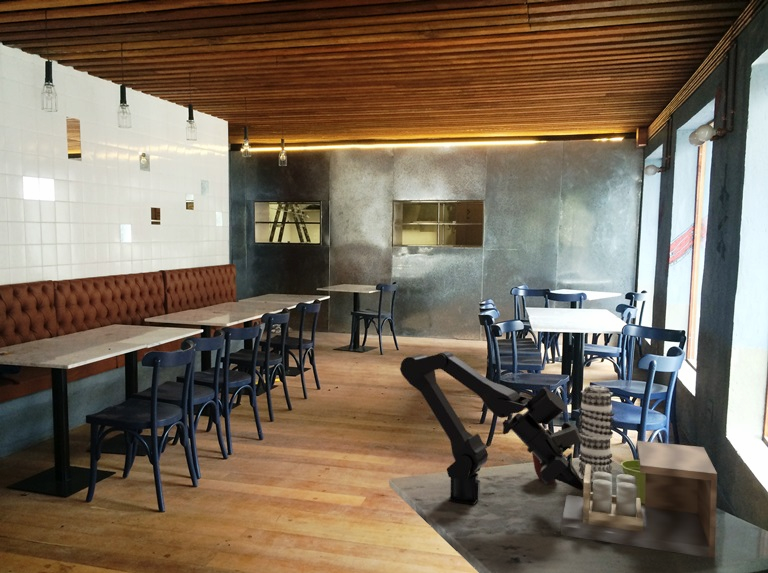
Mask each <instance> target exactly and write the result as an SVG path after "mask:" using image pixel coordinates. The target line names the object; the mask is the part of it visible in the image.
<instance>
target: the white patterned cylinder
mask: <svg viewBox="0 0 768 573" xmlns="http://www.w3.org/2000/svg"><path fill="white" fill-rule="evenodd" d="M580 393H582V394H581V397H582V398H581V404H580V406H579V409H578V413H579V414H580V416H579V417H578V419H579V422H578V426H580V428H579V429H578V431H579V434H580V436H581V442H580V449H579V452H578V453H579V457H578V460H579V463H578V467H579V468H578V473H579V474H578V476H579V477H580V479H581V480H582V479H583V481H584V475H585V467H586V464H588V465H591V483H592V482H593V473H594V472H607V473H610V474H611V475H612V474H613V472H612V470H613V469H612V468H613V466H612V465H611V464H612V463H613V460H612V459H611V458H613V453H612V447H611V439H613V435H614V432H613V431H612V430H613V429H614V426H613V425H612V424H611V423H613V422H614V421H615V420H614V418H613V416H615V413H614V412H613V411H612V409H613V404H612V395H613V394H614V393H613V392H611V391H610V389H609V388H608V387H606V386H604V385H597V384H596V385H595V384H593V385H592V384H591V385H587V386H585V387H584V389H583V390H581V391H580ZM612 476H613V475H612Z"/></svg>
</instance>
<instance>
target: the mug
mask: <svg viewBox="0 0 768 573" xmlns="http://www.w3.org/2000/svg"><path fill="white" fill-rule="evenodd" d="M562 454H563V455H564V452H563V453H562ZM531 455H532V460H533V466H534V471H535V473H536V474H535V475H537V478H538V479H539V481H541V483H544V482H543V480H542V479H541V478H540V471H541V468H542V466H541V465H540V462H541V461H540V460H539V459H538V458H537V457H536V456H535V454H534V453H533V452H531ZM556 481H557V480H556V479H553V480H552V481H550V482H549V483H554V482H556ZM549 483H548V484H549Z"/></svg>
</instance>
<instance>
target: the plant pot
mask: <svg viewBox="0 0 768 573" xmlns="http://www.w3.org/2000/svg"><path fill="white" fill-rule="evenodd" d="M620 467H621V468H622V471H623V474H626V475H631V476H634V477H635V478H636V486H637V496H636V498H640V502H641V505H645V473H641V472H640V466H639V459H628V460H624V461H621V463H620Z"/></svg>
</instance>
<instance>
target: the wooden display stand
mask: <svg viewBox="0 0 768 573" xmlns="http://www.w3.org/2000/svg"><path fill="white" fill-rule="evenodd" d="M636 450H637V452H636V453H637V458H638V459H637V460H639V466H640V472H641V473H645V504H641V509H642V516H643V532H641V531H634V530H627V529H620V528H613V527H606V526H599V525H592V524H585V523H583V496H577V495H570V494H566V498H565V502H564V503H565V504H564V509H563V513H562V518H561V524H560V536H566V537H572V538H573V537H574V538H580V539H586V540H593V541H598V542H599V541H600V542H607V543H611V544H618V545H625V546H632V547H637V548H638V547H639V548H645V549H652V550H658V551H659V550H660V551H666V552H673V553H677V554H678V553H679V554H686V555H691V556H697V557H704V558H706V557H707V558H711V559H715V558H716V531H717V530H716V527H717V525H716V524H717V523H716V522H717V494H718V493H717V489H718V488H717V487H718V472H717V471H716V469H715V467H714V465H713V463H712V461H711V458H710V457H709V455H708V453H707V451H706V449H705V447H704V446H694V445H684V444H673V443H665V442H655V441H654V442H652V441H644V440H636Z"/></svg>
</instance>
